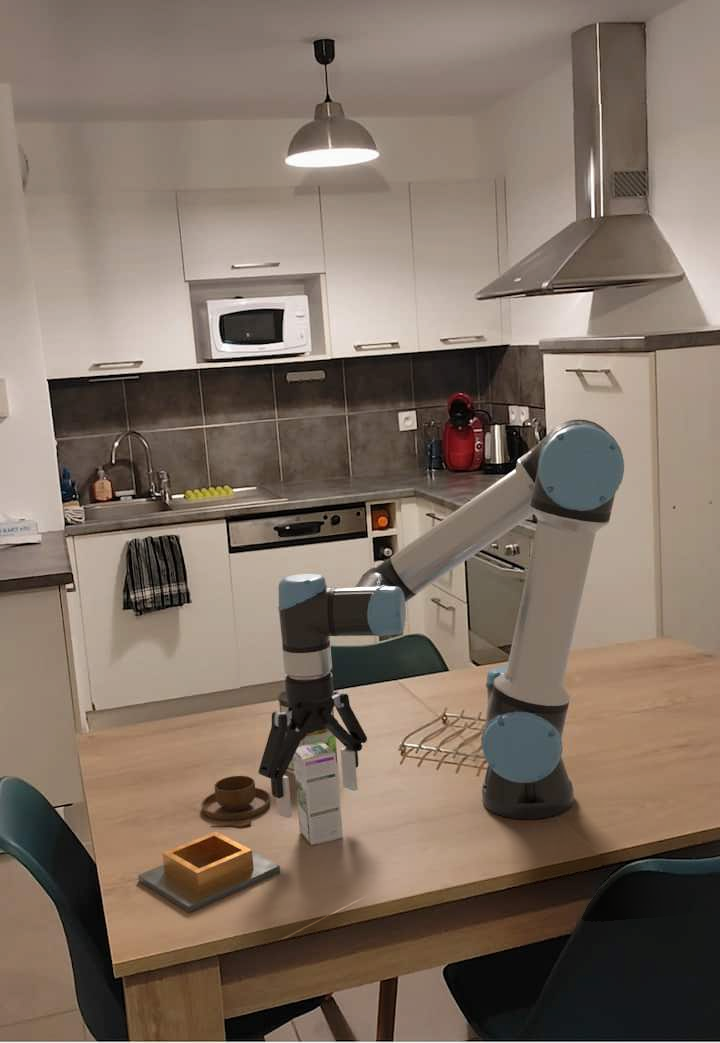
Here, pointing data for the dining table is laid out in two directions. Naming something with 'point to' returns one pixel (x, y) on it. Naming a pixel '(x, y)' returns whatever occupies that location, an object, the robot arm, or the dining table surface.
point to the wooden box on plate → (206, 871)
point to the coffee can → (311, 738)
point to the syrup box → (317, 793)
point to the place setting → (235, 799)
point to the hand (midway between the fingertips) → (318, 801)
